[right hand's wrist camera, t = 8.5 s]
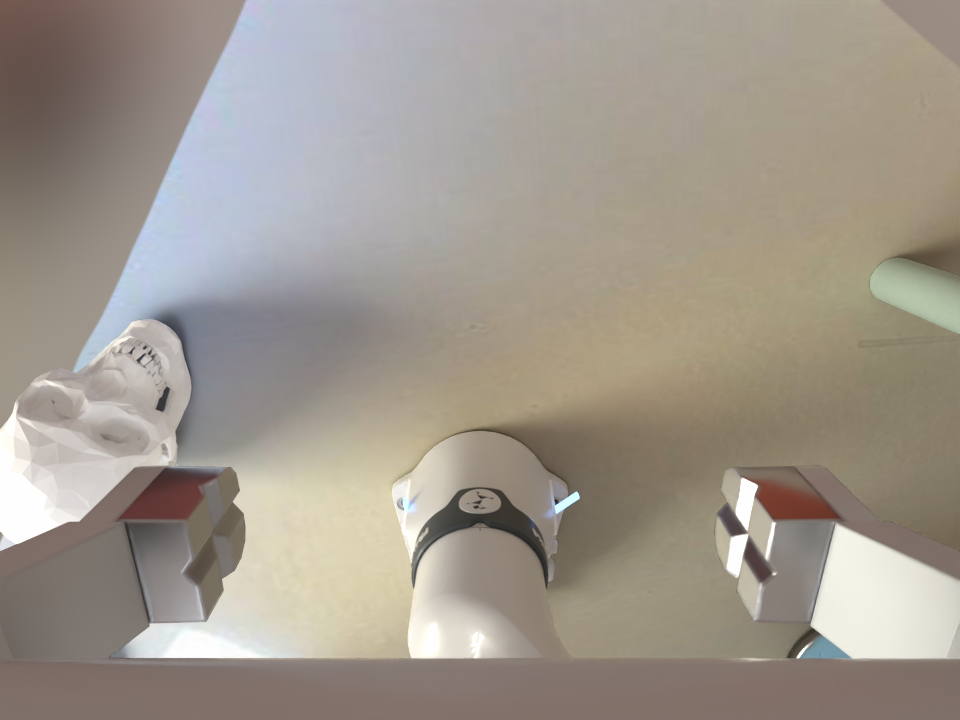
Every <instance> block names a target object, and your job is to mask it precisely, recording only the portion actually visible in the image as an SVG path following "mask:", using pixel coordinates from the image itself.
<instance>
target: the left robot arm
mask: <svg viewBox="0 0 960 720" xmlns="http://www.w3.org/2000/svg"><path fill="white" fill-rule="evenodd" d="M788 658H851V657H850V656H849V655H847V654H846V653H845V652H843V651H842V650H841V649H839V648H838V647H837V646H836V645H834V644H833V643H832V642H830V641H829V640H828V639H827V638H825V637H824V636H823V635H821V634H820V633H819V632H818V631H816V630H815V629H812V630H811V631H809V632H808V633H807V634H805V635H804V636H803V637H802V638H801V639H800V640H799V641H798V642H797V643H796V644H795V646H794V647H793V648H792V650H791V652H790V653H789V655H788Z"/></svg>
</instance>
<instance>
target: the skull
mask: <svg viewBox="0 0 960 720" xmlns="http://www.w3.org/2000/svg"><path fill="white" fill-rule="evenodd" d="M140 343H141V344H140ZM139 344H140V345H139ZM138 345H139V346H138ZM144 346H146V347H147V348H146V349H145V350H144V349H143V347H144ZM133 347H135V349H134V350H133V352H132V355H131V354H129V352H130V351H131V350H132V349H133ZM150 350H152V352H151V354H150V355H148V352H149V351H150ZM143 354H146V355H144V357H143V358H142V360H141V361H140V364H139V363H138V362H137V361H136V360H137V359H138V358H139V357H140V356H142V355H143ZM152 355H154V356H155V357H154V359H153V360H152V361H151V362H149V361H150V360H151V359H152V357H151V356H152ZM148 362H149V363H148ZM147 363H148V364H147ZM146 364H147V365H146ZM157 364H158V365H157ZM145 365H146V366H145ZM143 366H145V368H144V367H143ZM152 375H153V376H152ZM166 386H167V387H169V388H170V391H169V394H168V397H167V401H166V406H165V410H164V411H163V412H161V411H158V410H156V407H157V404H158V401H159V398H160V397H162V395H163V391H164V389H165V388H166ZM191 388H192V386H191V379H190V375H189V371H188V368H187V365H186V362H185V359H184V355H183V350H182V345H181V341H180V339H179V338H178V336H177V335H176V333H175V332H174V331H173V330H172V329H171V328H170V327H168V326H166V325H165V324H163V323H161V322H159V321H157V320H154V319H142V320H135V321H133V322H132V323H131V324H130V325H129V326H128V327H127V329H126V330H125V331H124V332H123V333H122V334H121V335H120V336H119V337H118V338H116V339H115V340H113V341H112V342H111V343H110V344H109V345H108V346H107V347H106V348H105V349H104V350H102V351H101V352H100V353H99V354H98V355H97V356H96V357H95V358H94V359H93V360H92V361H91V362H90V363H89V365H87V366H86V367H84V368H83V369H81V370H80V371H78V372H77V373H72V372H70V371H67V370H65V369H63V368H60V367H59V368H57V369H54V370H51V371H49V372H47V373H45V374H42V375H40V376H39V377H37V378H36V379H35V380H34V381H33V382H32V383H31V384H30V385H29V387H28V388H27V389H26V390H25V391H24V392H23V393H22V394H21V396H20V397H19V398H18V399H17V400H16V402H15V406H14V411H13V413H12V415H11V417H10V418H9V420H8V421H7V422H6V423H5V424H4V426H3V427H2V428H1V429H0V531H1V532H2V533H3V534H4V535H5V536H6V537H7V538H9V539H10V540H11V541H13V542H14V543H16V544H18V543H21V542H23V541H25V540H28V539H30V538H32V537H35V536H37V535H39V534H42V533H44V532H46V531H48V530H51V529H53V528H55V527H58V526H60V525H62V524H65V523H67V522H79V521H80V520H81V519H82V518H83V517H84V516H85V515H86V514H87V513H88V512H89V511H90V510H91V509H92V508H93V507H94V506H96V505H97V504H98V503H99V502H100V501H101V500H102V499H103V498H104V497H105V496H106V495H107V494H108V493H109V492H110V491H111V490H112V489H113V488H114V487H115V486H116V485H117V484H118V483H119V482H120V481H121V480H122V479H123V478H124V477H125V476H126V475H127V474H128V473H129V472H130V471H131V470H132V469H133V468H134V467H140V466H165V465H168V466H176V460H177V448H178V444H177V443H176V434H175V431H176V429H177V427H178V425H179V422H180V420H181V418H182V416H183V414H184V412H185V409H186V407H187V405H188V403H189V400H190V395H191Z"/></svg>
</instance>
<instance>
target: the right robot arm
mask: <svg viewBox="0 0 960 720" xmlns="http://www.w3.org/2000/svg"><path fill="white" fill-rule="evenodd" d="M239 491H240V489H239V484H238V479H237V475H236V472H235V471H234V470H233V469H232V468H231V467H199V466H168V465H165V466H140V467H134V468H133V469H132V470H131V471H130V472H129V473H128V474H127V475H126V476H125V477H124V478H123V479H122V480H121V481H120V482H119V483H118V484H117V485H116V486H115V487H114V488H113V489H112V490H111V491H110V492H109V493H108V494H107V495H106V496H105V497H104V498H103V499H102V500H101V501H100V502H99V503H98V504H97V505H96V506H94V507H93V508H92V509H91V510H90V511H89V512H88V513H87V514H86V515H85V516H84V517H83V518H82V519H81V520H80V521H79V522H67V523H65V524H62V525H60V526H58V527H55V528H53V529H51V530H48V531H46V532H44V533H42V534H39V535H37V536H35V537H32V538H30V539H28V540H25V541H23V542H21V543H18V544H16V545H14V546H12V547H9V548H7V549H5V550H2V551H0V720H960V551H958V550H955V549H953V548H951V547H948V546H946V545H944V544H941V543H939V542H937V541H935V540H932V539H930V538H928V537H925V536H923V535H921V534H918V533H916V532H914V531H912V530H909V529H907V528H905V527H902V526H900V525H898V524H895V523H893V522H881V521H880V520H879V519H878V518H877V517H876V516H875V515H874V514H873V513H872V512H871V511H870V510H869V509H868V508H867V507H866V506H865V505H864V504H863V503H862V502H860V501H859V500H858V499H857V498H856V497H855V496H854V495H853V494H852V493H851V492H850V491H849V490H848V489H847V488H846V487H845V486H844V485H843V484H842V483H841V482H840V481H839V480H838V479H837V478H836V477H835V476H834V475H833V474H832V473H831V472H830V471H829V470H828V469H827V468H825V467H822V466H819V465H812V466H781V467H740V468H727V469H726V471H725V473H724V475H723V478H722V484H721V489H720V491H721V492H722V494H723V495H724V497H725V499H726V500H727V503H726V504H725V505H724V506H723V507H722V508H721V509H720V510H719V511H718V512H717V514H716V522H715V530H714V533H715V544H716V550H717V553H718V556H719V559H720V561H721V563H722V565H723V567H724V569H725V571H727V572H728V573H730V574H731V575H733V576H734V577H736V578H737V579H738V583H737V589H736V591H737V593H738V594H739V596H740V598H741V600H742V602H743V603H744V605H745V607H746V609H747V610H748V612H749V614H750V616H751V618H752V619H753V621H754V622H780V623H811V625H810V626H811V627H812V628H814V629H815V630H816V631H818V632H819V633H820V634H821V635H823V636H824V637H825V638H827V639H828V640H829V641H830V642H832V643H833V644H834V645H836V646H837V647H838V648H839V649H841V650H842V651H843V652H845V653H846V654H847V655H849V656H850V657H851V658H573V657H572V656H571V655H570V653H569V652H568V651H567V649H566V648H565V646H564V645H563V643H562V642H561V640H560V638H559V636H558V634H557V632H556V629H555V626H554V622H553V619H552V615H551V611H550V607H549V602H548V597H547V592H546V588H547V583H548V582H551V581H553V578H554V573H555V561H554V560H553V559H550V556H551V554H556V553H557V548H558V542H557V540H555V539H556V536H557V532H558V529H559V526H560V522H561V519H562V515H563V512H564V508H566V507H567V506H569V505H570V504H572V503H573V502H575V501H576V500H578V499H579V494H578V493H577V492H575V493H574V494H572V495H571V496H569V497H568V486H567V484H566V483H565V482H564V481H563V480H561V479H560V478H558V477H557V476H555V475H553V474H552V473H550V472H548V471H547V470H546V469H545V468H544V467H543V466H542V464H541V463H540V461H539V460H538V459H537V457H536V456H535V455H534V454H533V453H532V451H531V450H529V449H528V448H527V447H526V446H525V445H523V444H522V443H520V442H519V441H517V440H515V439H513V438H511V437H509V436H506V435H503V434H500V433H495V432H488V431H472V432H465V433H460V434H457V435H454V436H451V437H449V438H447V439H445V440H443V441H441V442H440V443H438V444H437V445H435V446H434V447H433V448H432V449H431V450H429V452H428V453H427V454H426V455H425V456H424V457H423V459H422V460H421V461H420V463H419V464H418V466H417V467H416V468H415V469H414V470H413V471H412V472H410V473H408V474H407V475H405V476H403V477H402V478H400V479H399V480H397V481H396V482H395V483H394V484H393V486H392V498H393V501H394V505H395V508H396V512H397V515H398V519H399V522H400V525H401V529H402V532H403V536H404V539H405V543H406V546H407V549H408V553H409V556H410V560H411V563H412V564H411V567H412V583H413V588H414V594H413V601H412V608H411V615H410V622H409V630H408V647H409V653H410V656H411V658H109V657H110V656H112V655H113V654H114V653H116V652H117V651H118V650H119V649H121V648H122V647H123V646H125V645H126V644H127V643H128V642H130V641H131V640H132V639H134V638H135V637H136V636H138V635H139V634H140V633H141V632H143V631H144V630H145V629H147V628H148V627H149V626H150V625H149V623H179V622H206V621H207V619H208V618H209V616H210V614H211V612H212V610H213V609H214V607H215V605H216V603H217V602H218V600H219V598H220V596H221V594H222V593H223V591H224V589H223V583H222V579H223V578H224V577H226V576H227V575H229V574H230V573H232V572H233V571H235V569H236V567H237V565H238V563H239V561H240V559H241V557H242V552H243V548H244V544H245V520H244V514H243V512H242V511H241V510H240V509H239V508H238V507H237V506H236V505H235V504H234V503H233V500H234V499H235V497H236V495H237V494H238V492H239ZM554 499H557V501H556V502H554Z"/></svg>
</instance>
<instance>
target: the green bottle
mask: <svg viewBox="0 0 960 720" xmlns="http://www.w3.org/2000/svg"><path fill="white" fill-rule="evenodd" d="M870 290H871V292H872V294H873V295H874V297H876V298H877V299H879V300H881V301H883V302H886V303H888V304H890V305H893V306H895V307H897V308H899V309H902V310H904V311H906V312H909V313H911V314H913V315H915V316H918V317H920V318H922V319H925V320H927V321H929V322H931V323H934V324H936V325H938V326H941V327H943V328H945V329H947V330H950V331H952V332H954V333H957V334H959V335H960V275H956V274H953V273H950V272H947V271H944V270H940V269H937V268H934V267H931V266H928V265H924V264H921V263H918V262H915V261H912V260H909V259H905V258H901V257H895V258H890V259H888V260H886V261H884V262H882V263H881V264H880V265H879V266H878V267H877V268H876V269H875V270H874V272H873V273H872V275H871V278H870Z"/></svg>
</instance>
